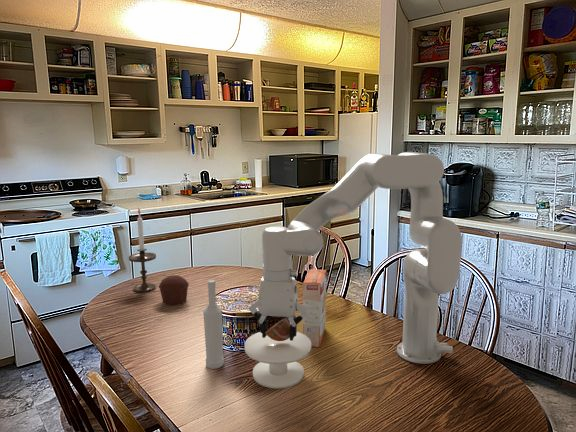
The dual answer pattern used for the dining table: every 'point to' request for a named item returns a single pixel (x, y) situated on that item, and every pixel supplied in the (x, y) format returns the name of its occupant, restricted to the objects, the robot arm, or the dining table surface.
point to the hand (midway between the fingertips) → (278, 336)
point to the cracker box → (314, 305)
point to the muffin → (174, 290)
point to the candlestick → (142, 260)
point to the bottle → (213, 330)
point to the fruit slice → (279, 331)
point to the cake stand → (278, 359)
